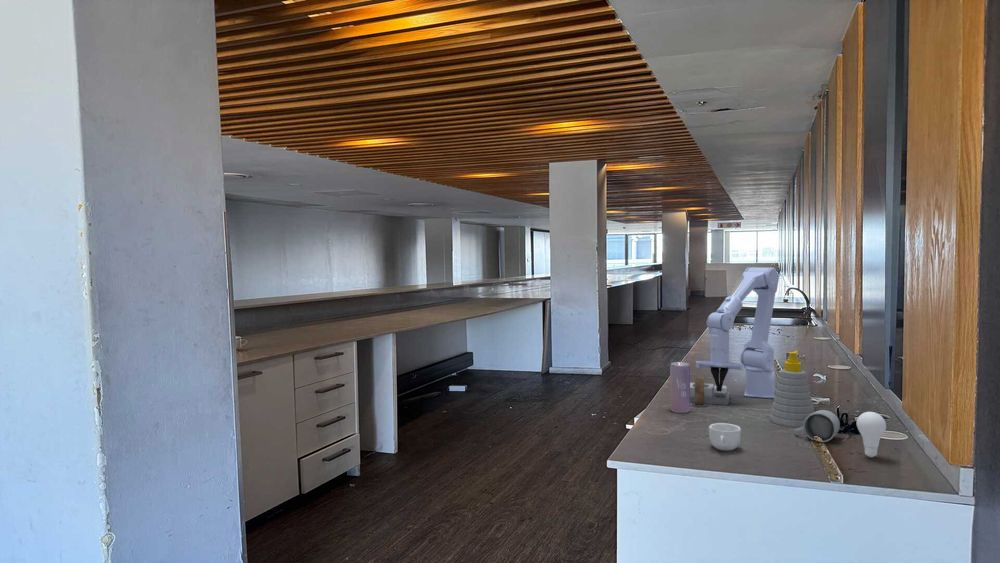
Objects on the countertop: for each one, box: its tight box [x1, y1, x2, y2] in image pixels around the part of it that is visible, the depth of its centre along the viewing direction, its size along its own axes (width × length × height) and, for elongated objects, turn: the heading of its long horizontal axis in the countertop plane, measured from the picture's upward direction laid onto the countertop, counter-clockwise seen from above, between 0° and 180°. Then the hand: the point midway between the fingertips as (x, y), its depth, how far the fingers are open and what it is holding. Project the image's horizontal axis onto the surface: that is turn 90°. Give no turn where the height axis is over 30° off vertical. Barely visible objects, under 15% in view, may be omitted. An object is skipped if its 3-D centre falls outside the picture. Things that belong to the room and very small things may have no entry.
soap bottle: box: [769, 350, 815, 428], centre depth 183 cm, size 12×12×20 cm
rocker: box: [714, 384, 728, 394], centre depth 209 cm, size 4×7×1 cm, turn 157°
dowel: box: [694, 375, 705, 406], centre depth 203 cm, size 3×3×9 cm
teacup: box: [708, 422, 742, 452], centre depth 159 cm, size 10×8×5 cm
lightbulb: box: [856, 411, 887, 458], centre depth 151 cm, size 6×6×11 cm
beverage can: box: [669, 361, 691, 414], centre depth 197 cm, size 6×6×15 cm
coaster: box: [692, 402, 708, 408], centre depth 204 cm, size 5×5×1 cm
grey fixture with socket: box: [690, 382, 731, 406], centre depth 211 cm, size 13×11×5 cm
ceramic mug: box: [793, 409, 841, 443], centre depth 167 cm, size 11×8×8 cm
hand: (719, 390), depth 206 cm, fingers closed, pressing on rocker
